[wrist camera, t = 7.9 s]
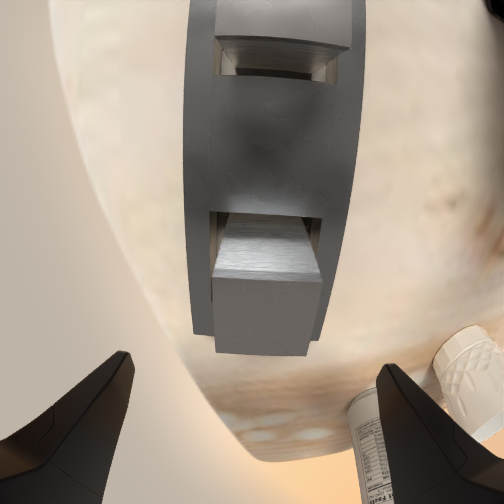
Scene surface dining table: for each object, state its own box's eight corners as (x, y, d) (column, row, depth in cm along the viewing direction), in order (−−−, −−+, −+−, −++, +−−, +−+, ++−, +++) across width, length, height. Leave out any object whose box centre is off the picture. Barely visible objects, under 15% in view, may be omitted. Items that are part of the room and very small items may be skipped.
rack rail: (349, -29, 9) (362, -46, 7) (313, 315, 20) (318, 340, 18) (206, -40, 9) (198, -60, 7) (200, 309, 20) (193, 334, 18)
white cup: (453, 318, 20) (504, 404, 11) (498, 320, 21) (543, 387, 12) (414, 376, 24) (443, 457, 15) (461, 371, 24) (492, 438, 15)
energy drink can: (343, 418, 27) (360, 535, 14) (347, 390, 24) (373, 532, 11) (392, 406, 27) (420, 518, 13) (403, 377, 24) (444, 507, 11)
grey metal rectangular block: (314, 10, 11) (349, -48, 5) (311, 73, 13) (351, 47, 6) (239, 4, 11) (223, -60, 5) (235, 67, 13) (214, 35, 6)
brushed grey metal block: (300, 213, 16) (323, 282, 10) (293, 272, 18) (306, 356, 12) (230, 209, 16) (211, 277, 10) (229, 269, 18) (215, 352, 12)
